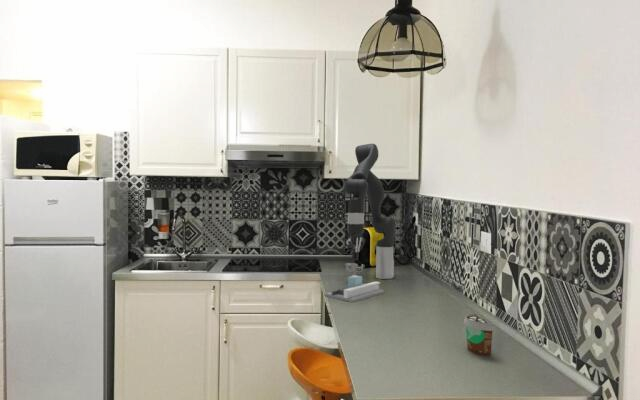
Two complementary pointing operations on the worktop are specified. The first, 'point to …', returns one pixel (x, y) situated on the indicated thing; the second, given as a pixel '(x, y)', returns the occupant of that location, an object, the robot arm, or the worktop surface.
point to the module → (354, 281)
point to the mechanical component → (353, 268)
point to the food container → (478, 334)
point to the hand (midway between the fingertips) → (355, 260)
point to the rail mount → (356, 292)
